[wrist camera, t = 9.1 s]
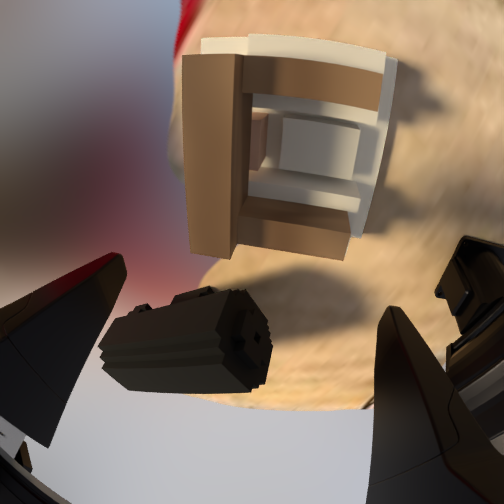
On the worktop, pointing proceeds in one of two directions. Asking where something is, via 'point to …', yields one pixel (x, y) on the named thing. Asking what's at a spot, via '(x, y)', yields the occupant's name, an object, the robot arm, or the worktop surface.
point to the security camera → (190, 345)
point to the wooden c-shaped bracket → (238, 152)
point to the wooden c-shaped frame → (315, 130)
